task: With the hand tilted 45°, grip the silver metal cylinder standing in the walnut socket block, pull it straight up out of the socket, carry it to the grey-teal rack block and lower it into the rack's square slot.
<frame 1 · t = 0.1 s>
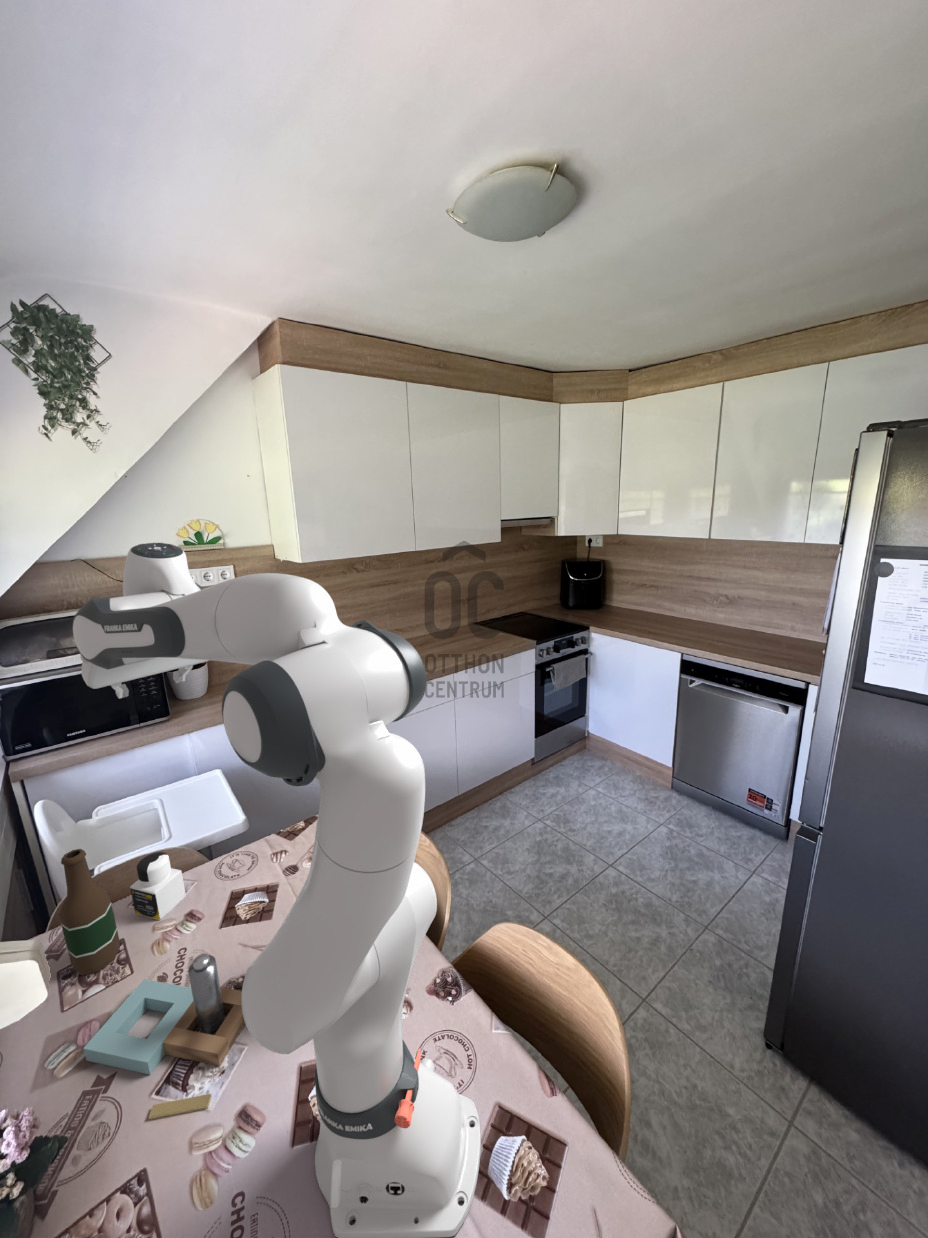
hand: (151, 687, 91), 54 cm above the table, tool tilted 30°, fingers open, 8 cm apart
silver metal cylinder: (207, 995, 82), in the socket block
medicine bottle: (161, 906, 111), on the table
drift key: (181, 1110, 73), on the table
beer bottle: (97, 960, 98), on the table
rack block: (148, 1029, 84), on the table
pitcher: (337, 980, 92), on the table
socket block: (213, 1028, 84), on the table
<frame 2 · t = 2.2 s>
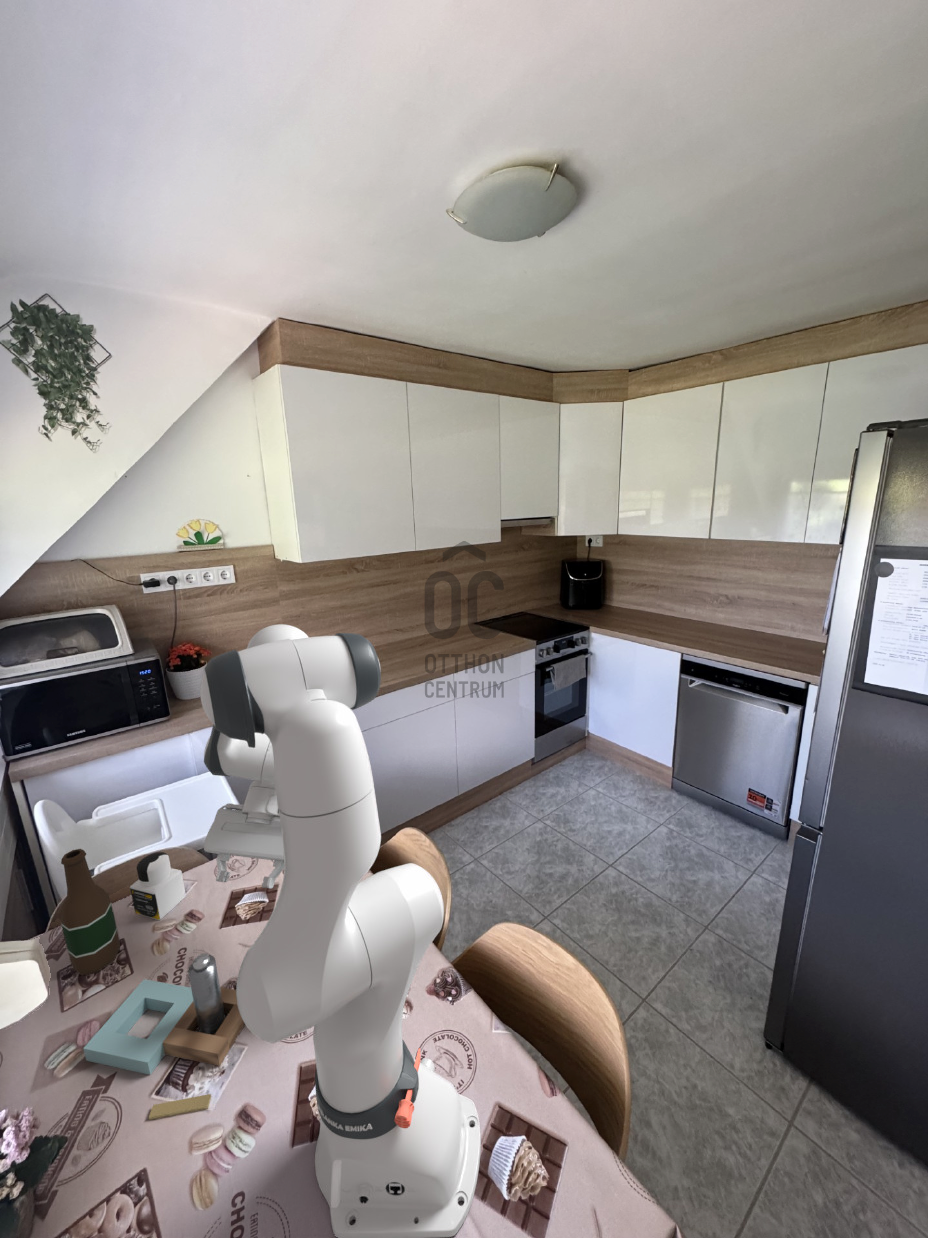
hand: (243, 885, 92), 18 cm above the table, tool tilted 45°, fingers open, 8 cm apart
nothing on the table moved.
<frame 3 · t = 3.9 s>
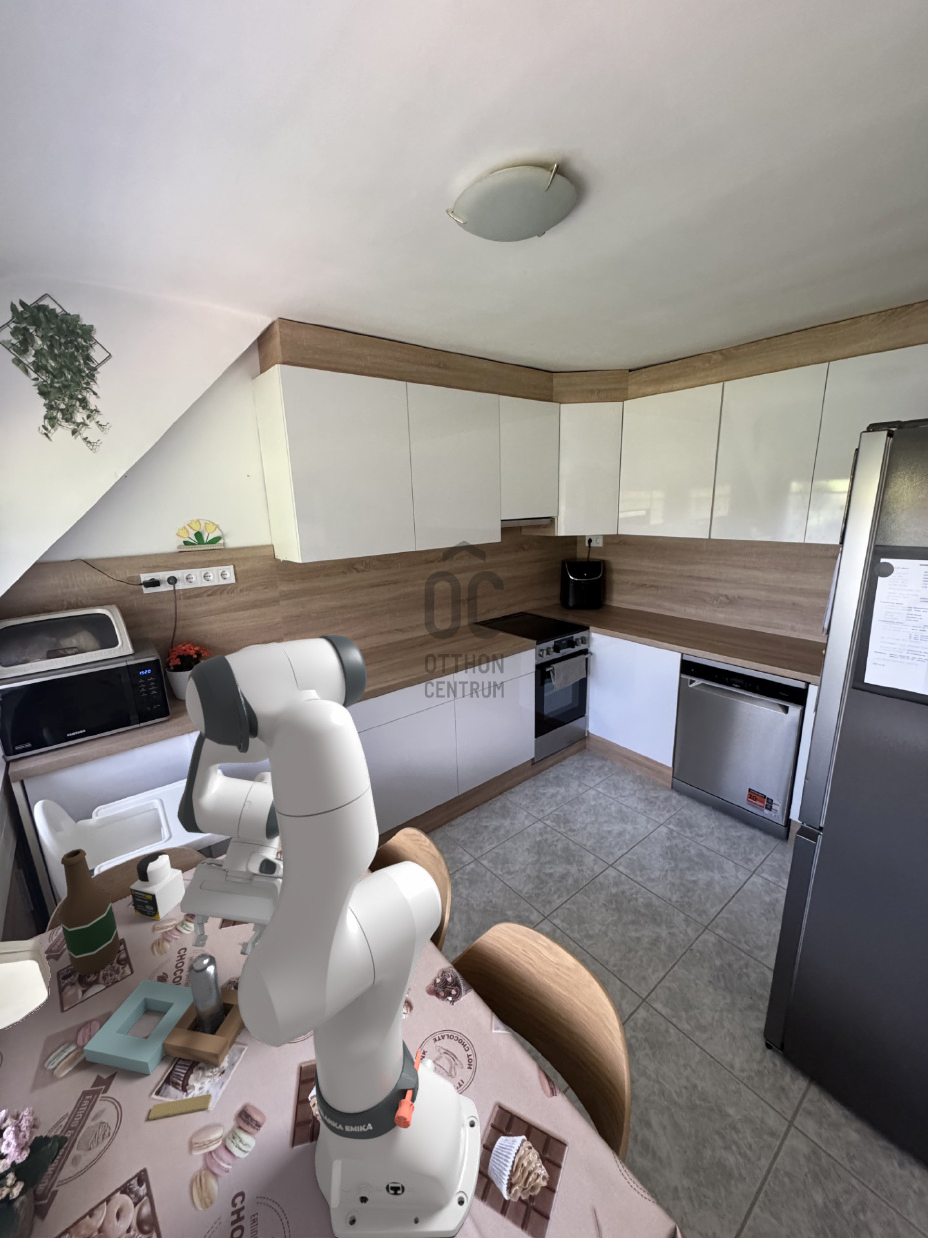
hand: (221, 951, 86), 11 cm above the table, tool tilted 45°, fingers open, 8 cm apart
nothing on the table moved.
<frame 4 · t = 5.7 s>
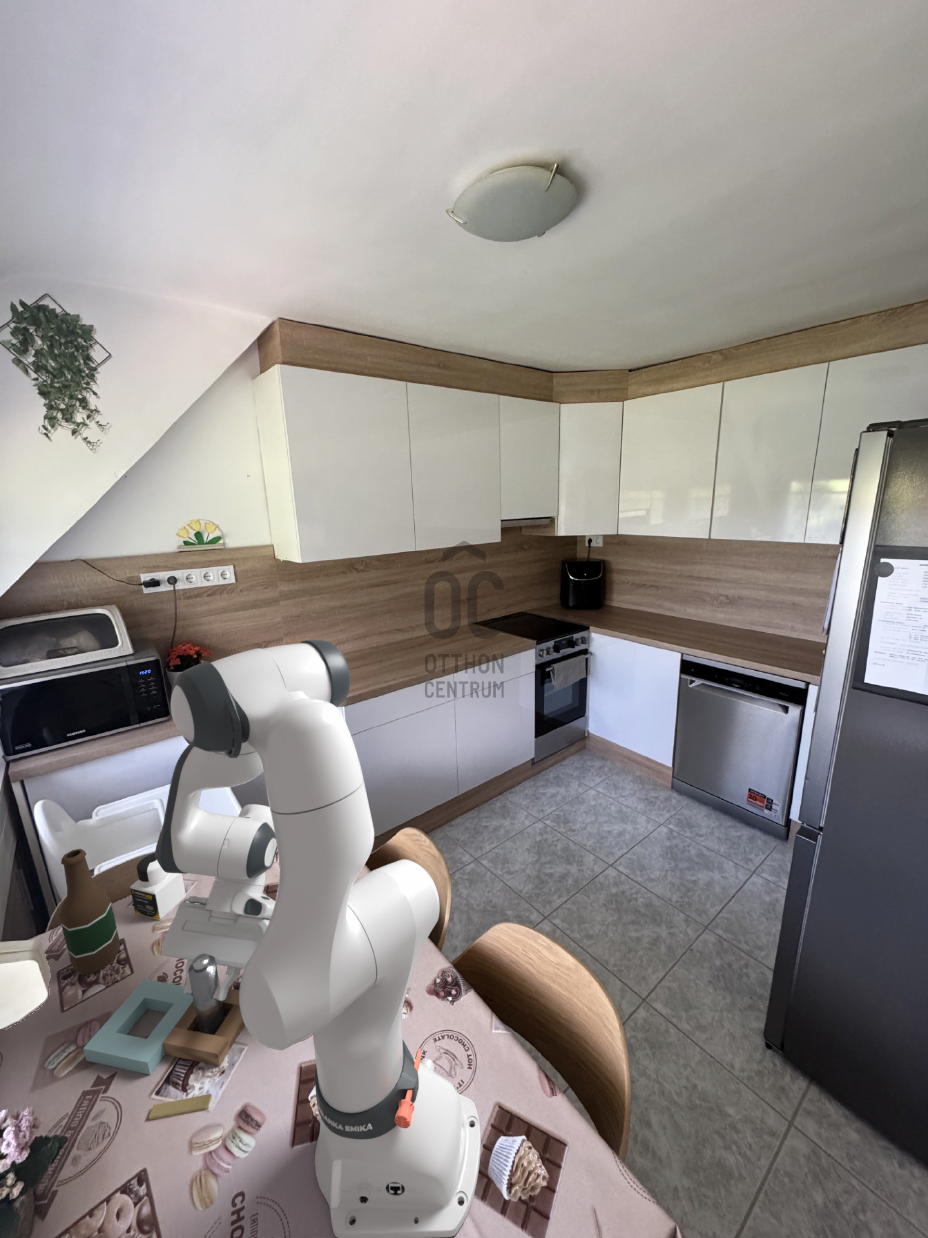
hand: (204, 997, 81), 7 cm above the table, tool tilted 45°, fingers closed on silver metal cylinder, 4 cm apart
silver metal cylinder: (207, 995, 82), in the socket block, touching gripper
everything else where it was.
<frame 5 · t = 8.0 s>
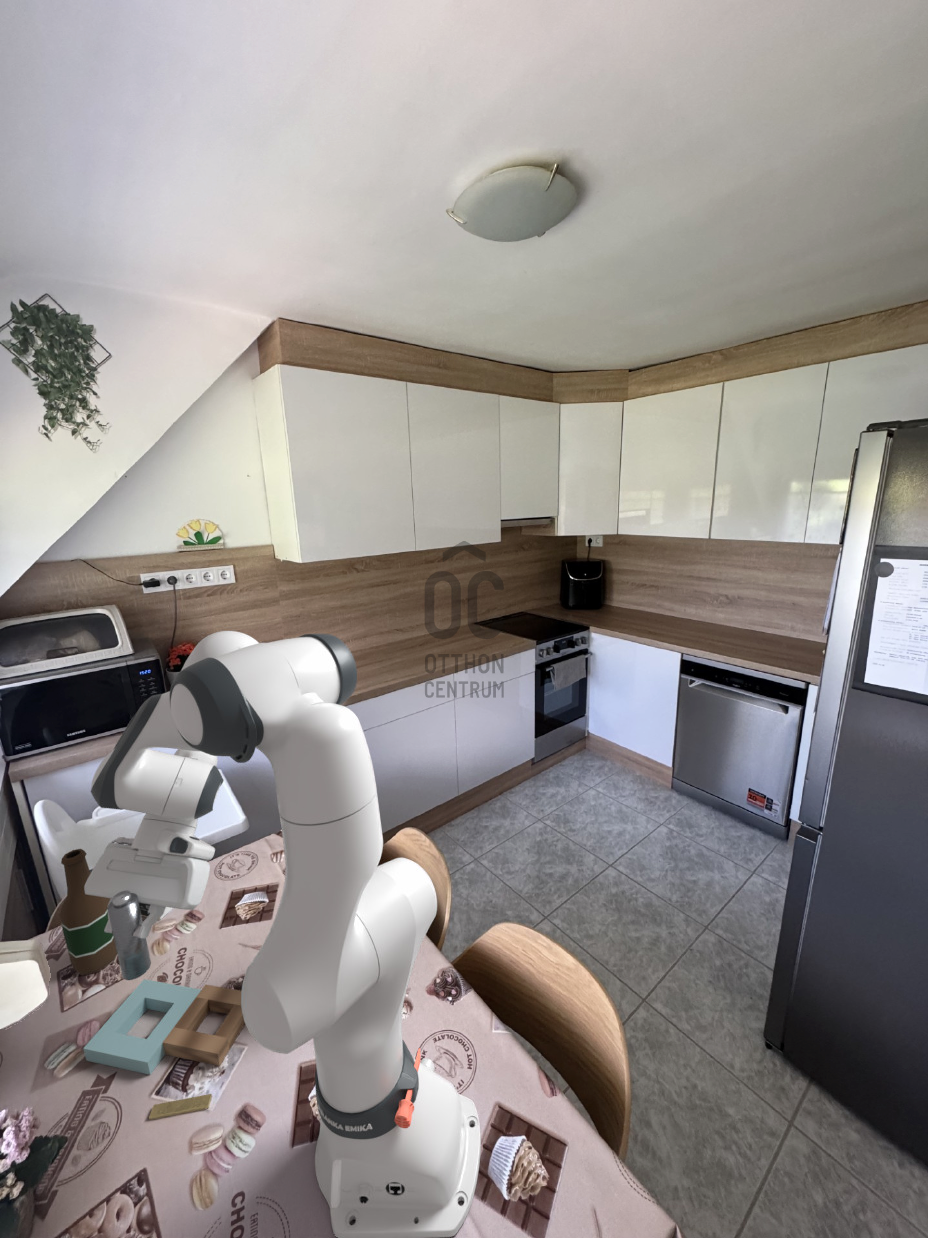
hand: (125, 935, 79), 20 cm above the table, tool tilted 45°, fingers closed on silver metal cylinder, 4 cm apart
silver metal cylinder: (129, 933, 80), point 19 cm above the table, touching gripper
everything else where it was.
when the fingers open (9 cm above the table, at t = 10.3 s): silver metal cylinder drops 1 cm, resting in rack block.
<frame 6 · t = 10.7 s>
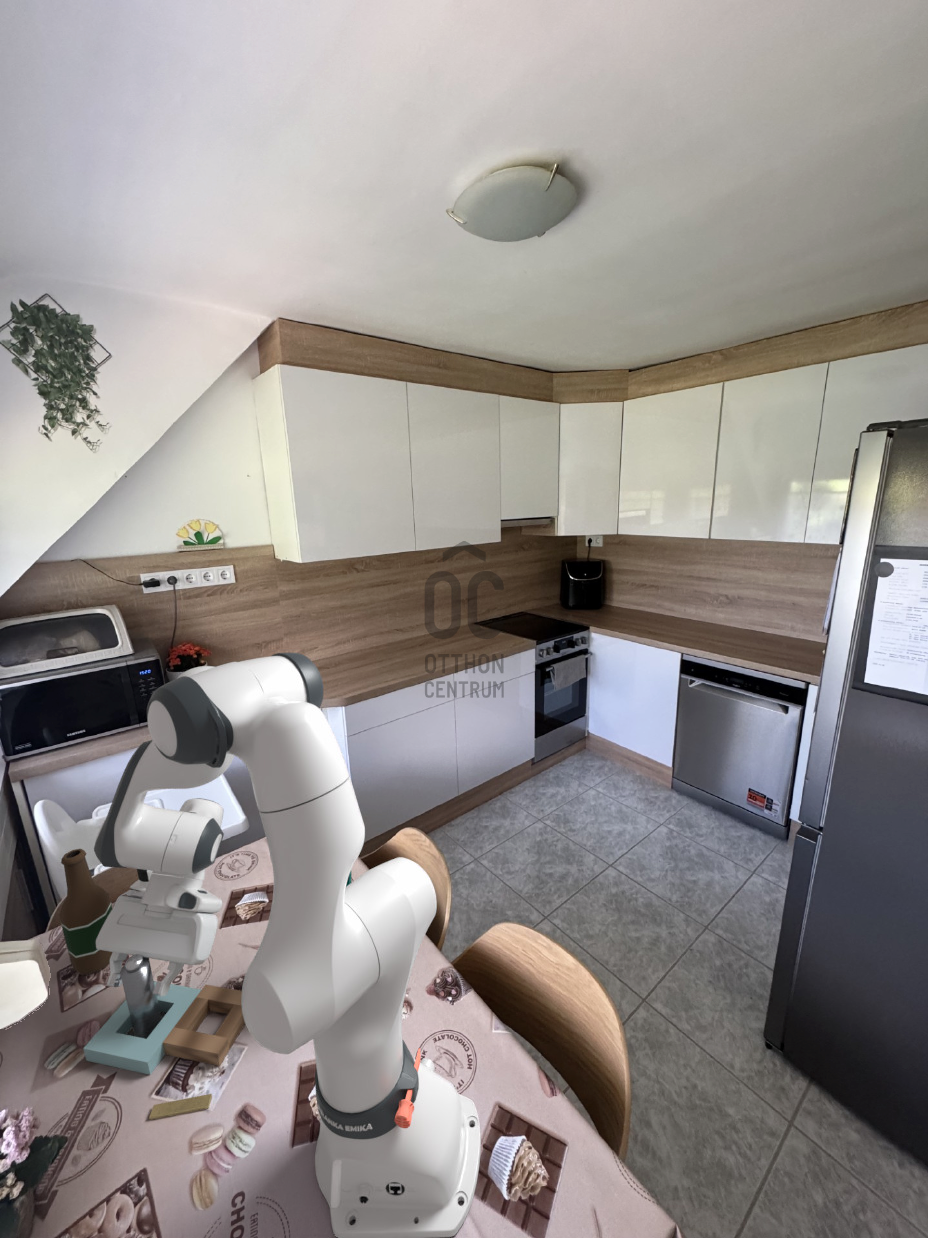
hand: (136, 990, 81), 9 cm above the table, tool tilted 45°, fingers open, 8 cm apart
silver metal cylinder: (141, 995, 82), in the rack block
everything else where it was.
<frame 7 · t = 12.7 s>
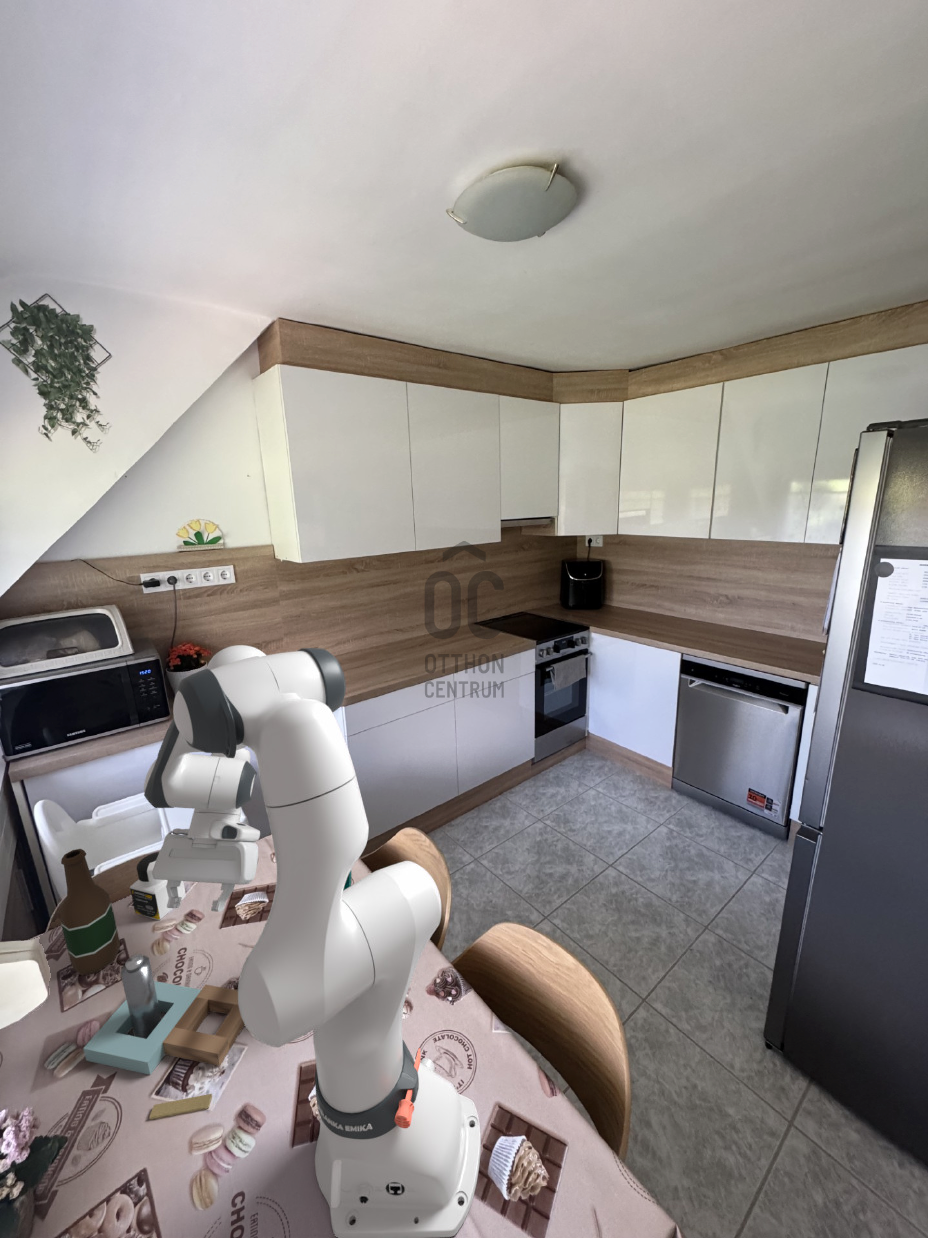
hand: (194, 909, 93), 13 cm above the table, tool tilted 40°, fingers open, 8 cm apart
nothing on the table moved.
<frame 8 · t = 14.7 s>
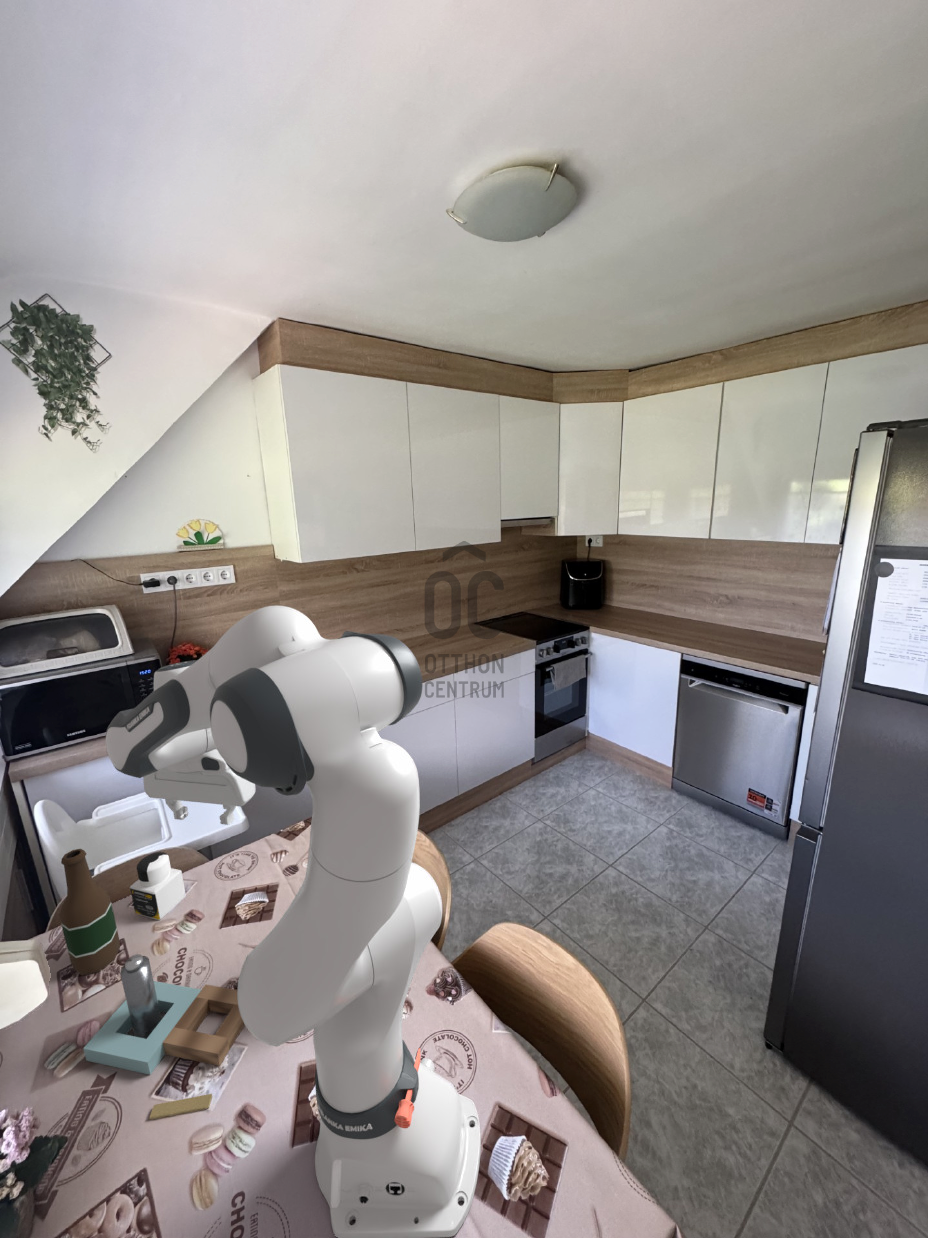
hand: (204, 820, 89), 31 cm above the table, tool pointing down, fingers open, 8 cm apart
nothing on the table moved.
at the end: silver metal cylinder 0.0 cm off-centre on the rack block, point 7.1 cm above the rack block's base; silver metal cylinder tilted 0°; the gripper is holding nothing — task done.
